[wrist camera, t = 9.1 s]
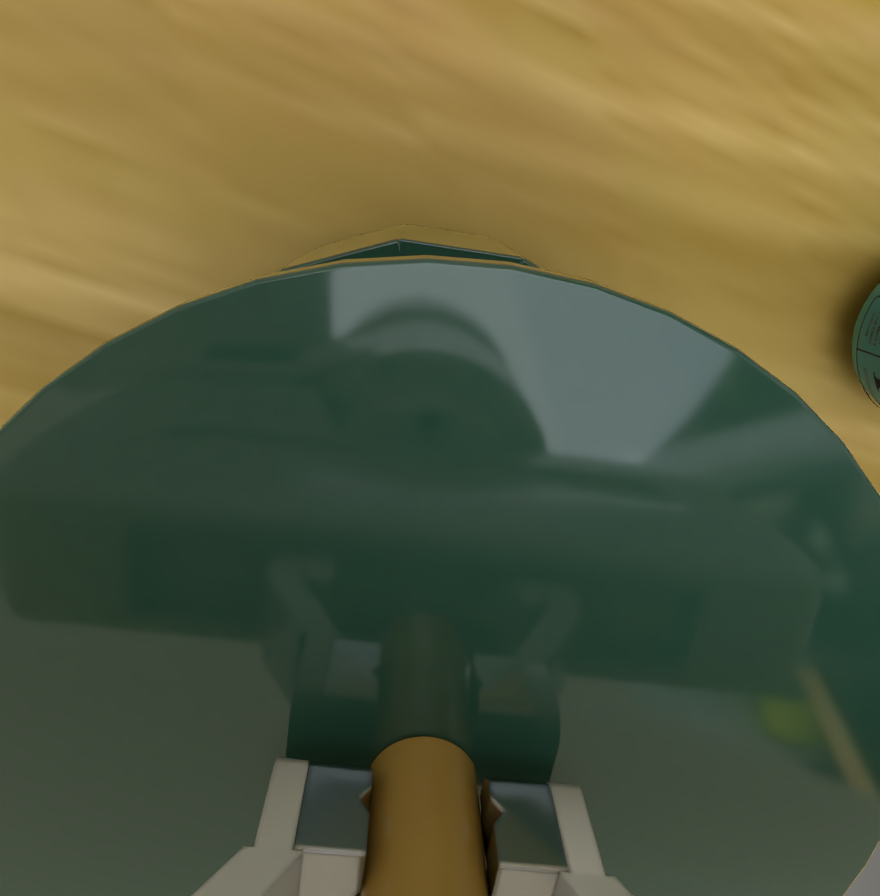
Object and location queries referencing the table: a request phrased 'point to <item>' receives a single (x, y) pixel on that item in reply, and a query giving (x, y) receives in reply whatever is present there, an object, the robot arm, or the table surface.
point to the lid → (434, 588)
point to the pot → (410, 247)
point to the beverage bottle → (868, 345)
